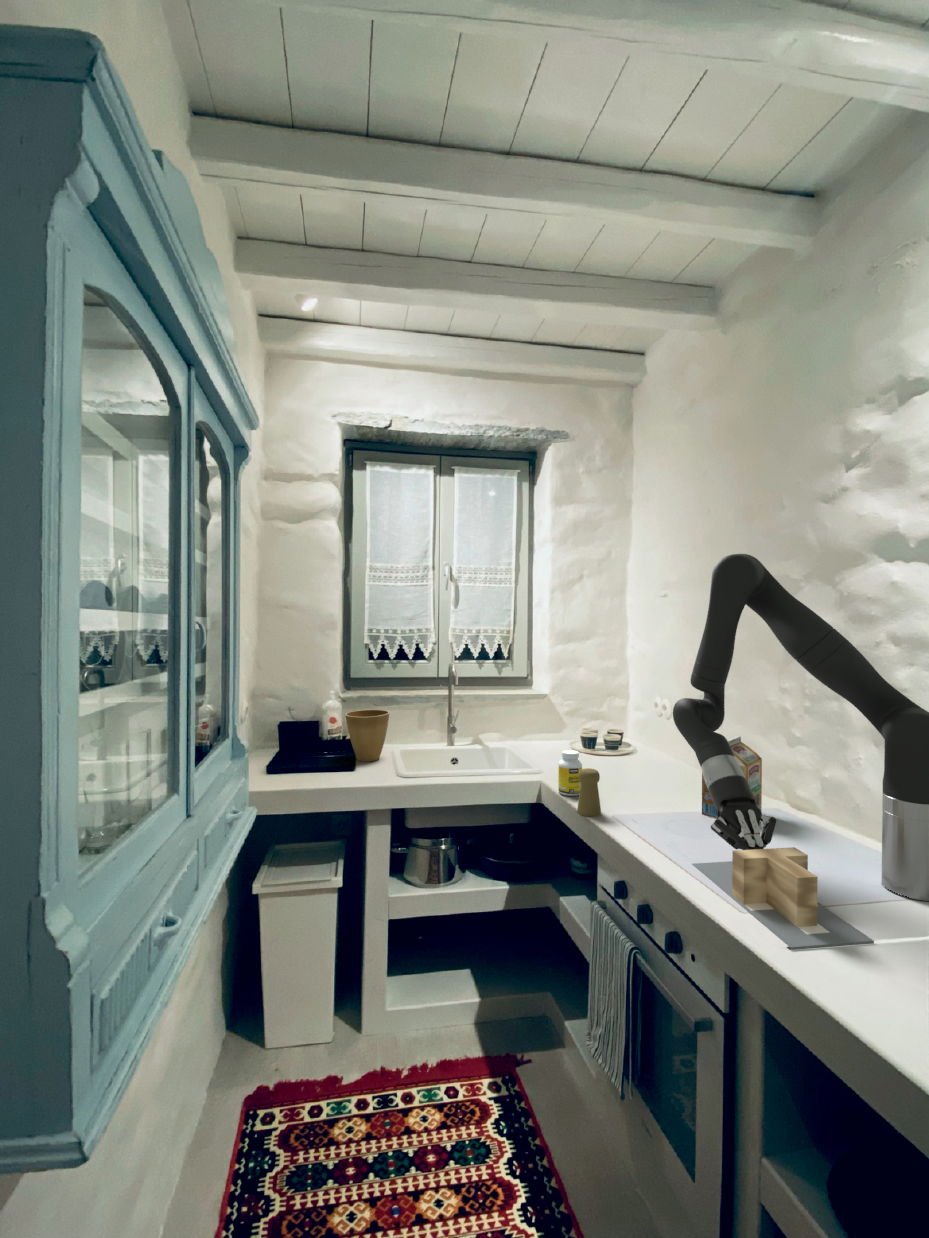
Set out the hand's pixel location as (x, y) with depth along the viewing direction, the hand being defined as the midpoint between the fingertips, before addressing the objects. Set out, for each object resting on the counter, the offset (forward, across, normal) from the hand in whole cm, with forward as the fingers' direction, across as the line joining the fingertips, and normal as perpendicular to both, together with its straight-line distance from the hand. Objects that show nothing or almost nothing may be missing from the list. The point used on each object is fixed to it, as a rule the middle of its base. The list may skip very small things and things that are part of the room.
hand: (762, 869), depth 109 cm
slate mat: (+5, 0, +2) cm, 5 cm away
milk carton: (-25, +18, +32) cm, 44 cm away
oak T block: (+7, 0, -2) cm, 7 cm away
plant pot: (-72, -75, +80) cm, 131 cm away
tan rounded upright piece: (-29, -17, +36) cm, 49 cm away
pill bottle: (-40, -17, +47) cm, 64 cm away
